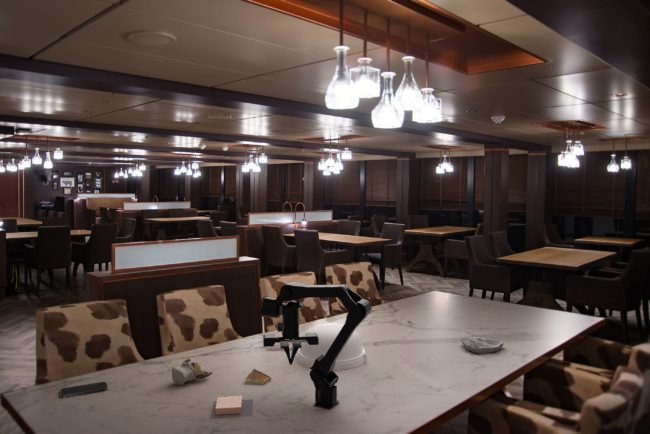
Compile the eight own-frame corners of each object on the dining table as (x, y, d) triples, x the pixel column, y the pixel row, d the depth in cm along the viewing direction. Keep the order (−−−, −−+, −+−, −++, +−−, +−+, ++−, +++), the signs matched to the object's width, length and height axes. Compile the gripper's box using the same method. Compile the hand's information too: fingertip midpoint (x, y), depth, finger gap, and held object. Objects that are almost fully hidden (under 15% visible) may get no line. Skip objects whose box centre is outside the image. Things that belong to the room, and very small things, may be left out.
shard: (253, 373, 199) (253, 367, 198) (276, 374, 197) (276, 368, 197) (243, 385, 186) (243, 379, 186) (267, 386, 184) (267, 381, 184)
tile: (242, 395, 169) (217, 397, 168) (241, 407, 160) (215, 408, 159) (242, 402, 169) (217, 403, 168) (241, 413, 160) (215, 415, 159)
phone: (107, 388, 179) (60, 396, 172) (107, 391, 179) (60, 399, 172) (105, 381, 186) (60, 388, 179) (105, 384, 186) (60, 391, 179)
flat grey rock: (479, 340, 243) (479, 334, 243) (509, 349, 229) (509, 343, 228) (451, 347, 232) (451, 341, 232) (480, 357, 218) (480, 350, 218)
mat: (252, 400, 171) (252, 399, 171) (252, 416, 158) (252, 415, 158) (214, 402, 170) (214, 401, 170) (210, 419, 157) (210, 418, 157)
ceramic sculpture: (164, 359, 186) (196, 352, 198) (163, 383, 186) (195, 374, 198) (181, 366, 180) (214, 358, 191) (180, 390, 180) (213, 380, 191)
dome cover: (282, 364, 207) (282, 331, 207) (309, 344, 235) (309, 315, 235) (356, 375, 196) (356, 339, 195) (376, 352, 224) (376, 321, 223)
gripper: (315, 313, 181) (315, 355, 181) (263, 314, 178) (263, 357, 179) (318, 320, 170) (318, 366, 170) (263, 322, 167) (263, 368, 168)
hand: (290, 364), depth 172 cm, fingers closed
